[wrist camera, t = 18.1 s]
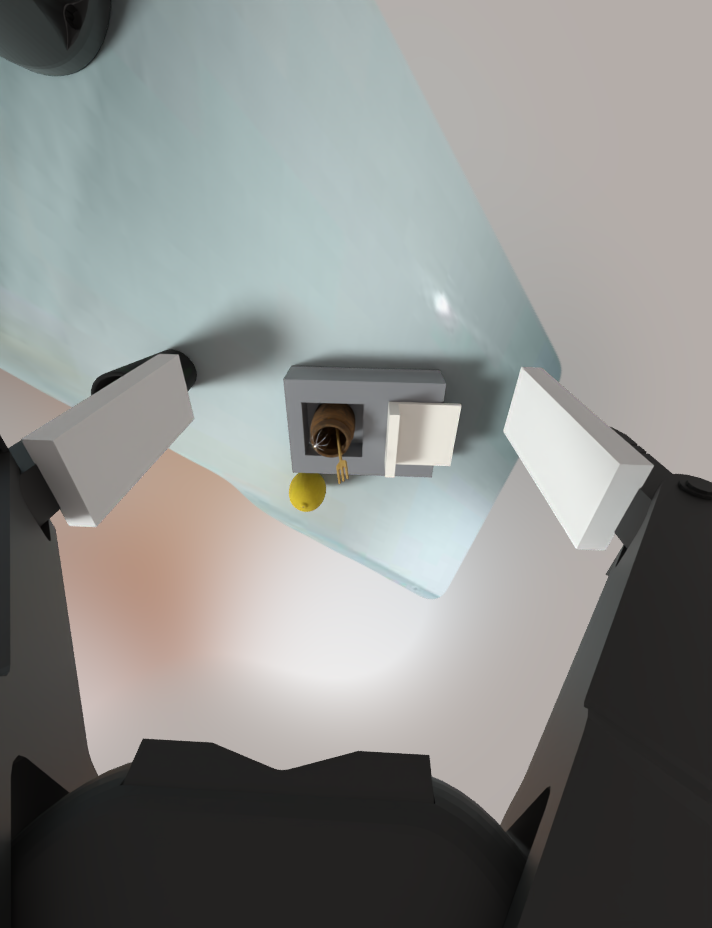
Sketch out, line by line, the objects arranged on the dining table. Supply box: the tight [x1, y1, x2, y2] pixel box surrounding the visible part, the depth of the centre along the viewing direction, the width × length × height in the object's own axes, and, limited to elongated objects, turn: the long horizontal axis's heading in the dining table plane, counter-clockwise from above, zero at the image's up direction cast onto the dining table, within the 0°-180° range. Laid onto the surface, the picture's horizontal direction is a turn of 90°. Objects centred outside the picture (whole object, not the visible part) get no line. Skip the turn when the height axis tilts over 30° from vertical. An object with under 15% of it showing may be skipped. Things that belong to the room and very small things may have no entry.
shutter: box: [385, 402, 461, 478], centre depth 47 cm, size 9×9×4 cm
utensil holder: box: [309, 403, 355, 484], centre depth 47 cm, size 6×6×12 cm
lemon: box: [289, 473, 326, 512], centre depth 56 cm, size 6×6×8 cm
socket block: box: [283, 366, 446, 477], centre depth 51 cm, size 14×20×5 cm
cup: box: [91, 350, 197, 396], centre depth 45 cm, size 8×8×12 cm
